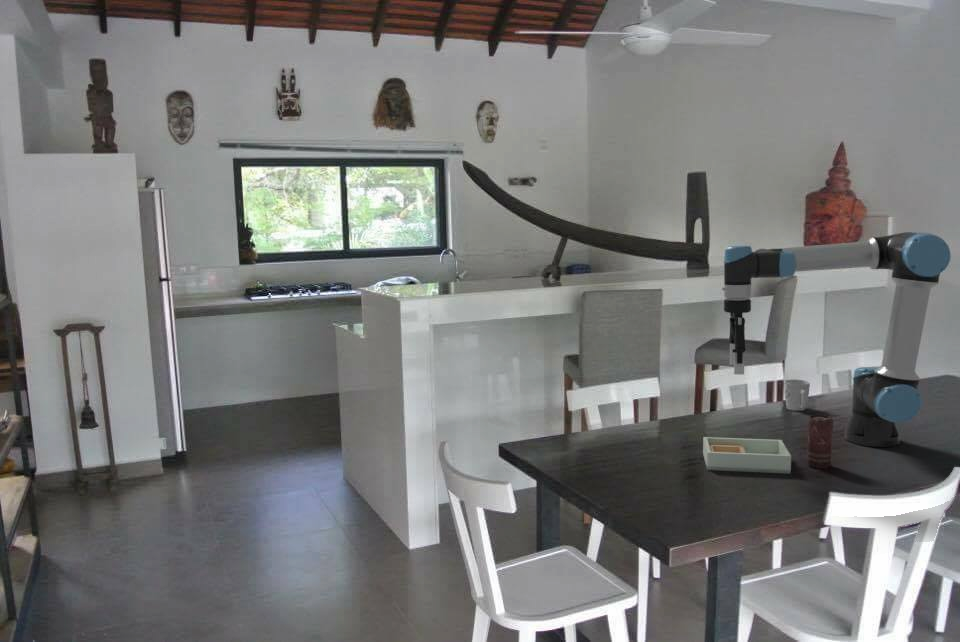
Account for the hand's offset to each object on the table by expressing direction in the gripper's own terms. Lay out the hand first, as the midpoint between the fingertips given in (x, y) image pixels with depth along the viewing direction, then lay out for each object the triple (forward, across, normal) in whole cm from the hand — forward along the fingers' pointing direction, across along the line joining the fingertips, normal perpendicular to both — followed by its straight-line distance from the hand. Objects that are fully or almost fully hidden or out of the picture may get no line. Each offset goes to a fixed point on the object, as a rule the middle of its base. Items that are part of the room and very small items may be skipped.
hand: (736, 369), depth 222 cm
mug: (+26, -52, +26) cm, 64 cm away
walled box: (+25, +11, +1) cm, 27 cm away
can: (+26, +10, +21) cm, 35 cm away
